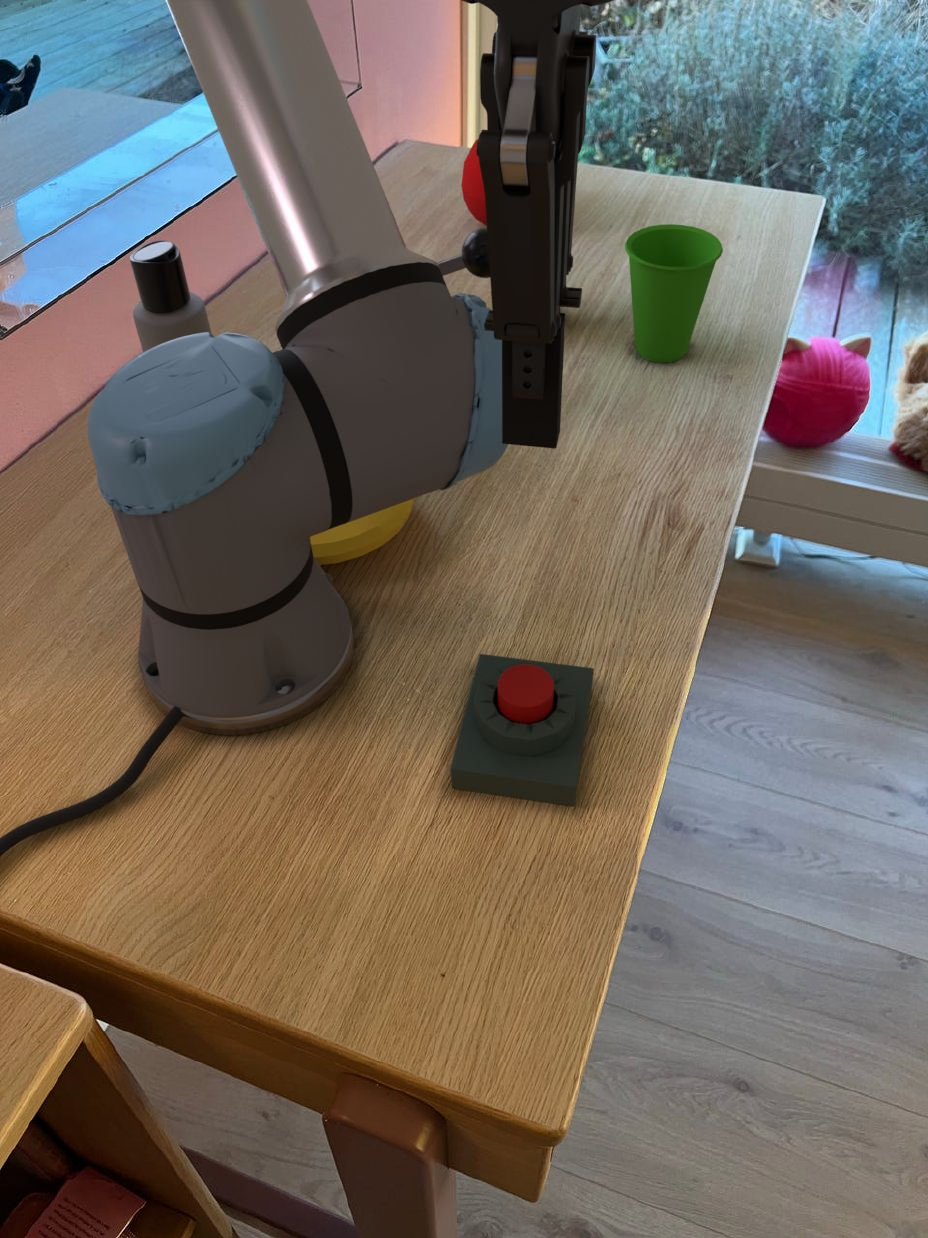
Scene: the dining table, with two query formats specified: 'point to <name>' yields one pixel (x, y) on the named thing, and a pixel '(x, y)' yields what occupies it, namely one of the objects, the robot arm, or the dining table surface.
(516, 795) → the button box
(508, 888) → the dining table surface
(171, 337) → the lotion bottle
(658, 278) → the cup
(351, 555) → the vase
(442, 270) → the lever
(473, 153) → the tomato
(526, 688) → the button
